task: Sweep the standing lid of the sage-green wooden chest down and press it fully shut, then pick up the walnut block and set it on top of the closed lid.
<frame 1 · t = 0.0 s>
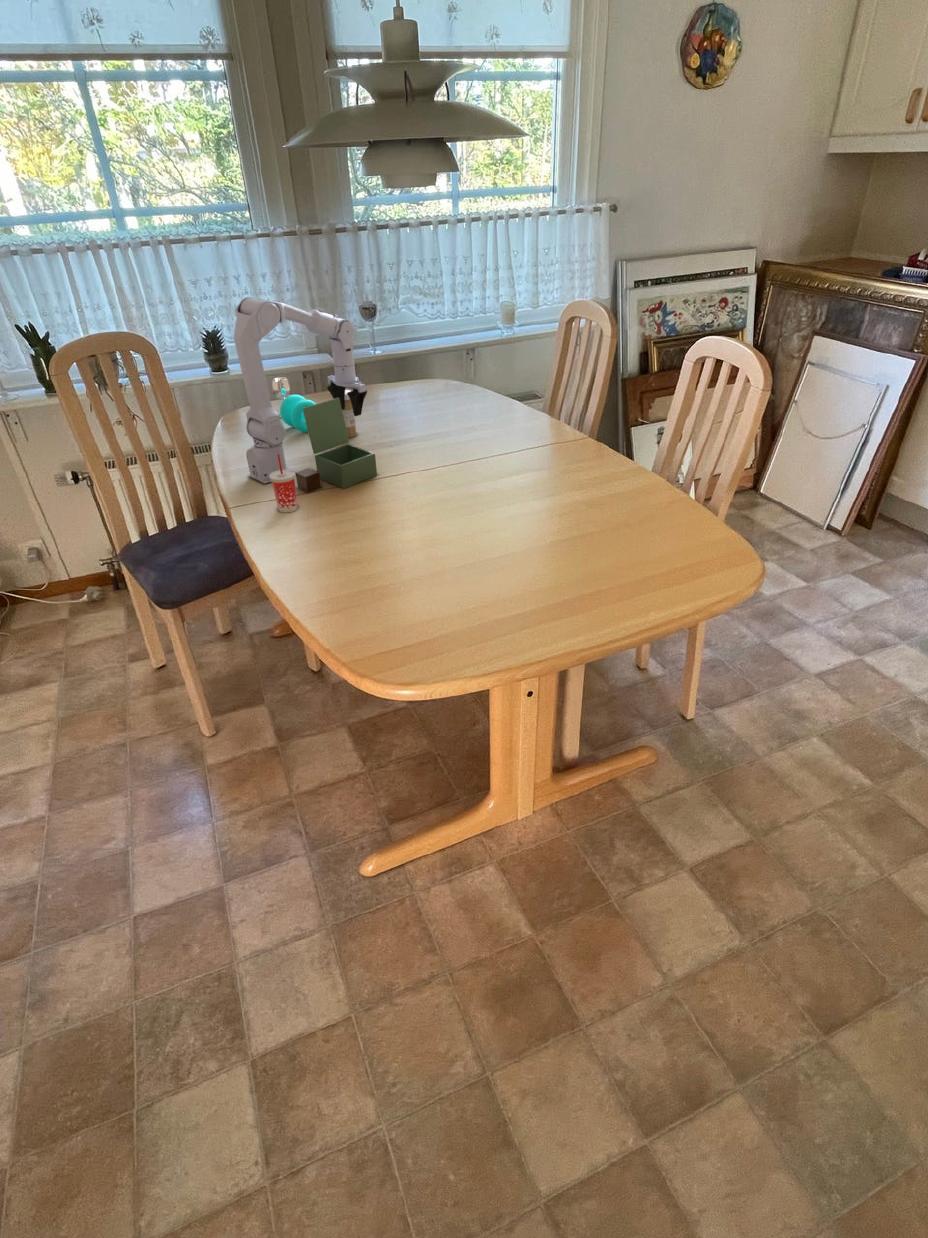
hand: (349, 412, 201), 10 cm above the table, tool pointing down, fingers open, 7 cm apart
donuts: (303, 429, 220), on the table
sprinkles bottle: (349, 435, 215), on the table
wineglass: (286, 416, 231), on the table
beverage cup: (288, 509, 173), on the table
chest: (347, 476, 189), on the table
lid: (326, 425, 185), point 13 cm above the table, hinge at 100.0°
block: (309, 487, 183), on the table
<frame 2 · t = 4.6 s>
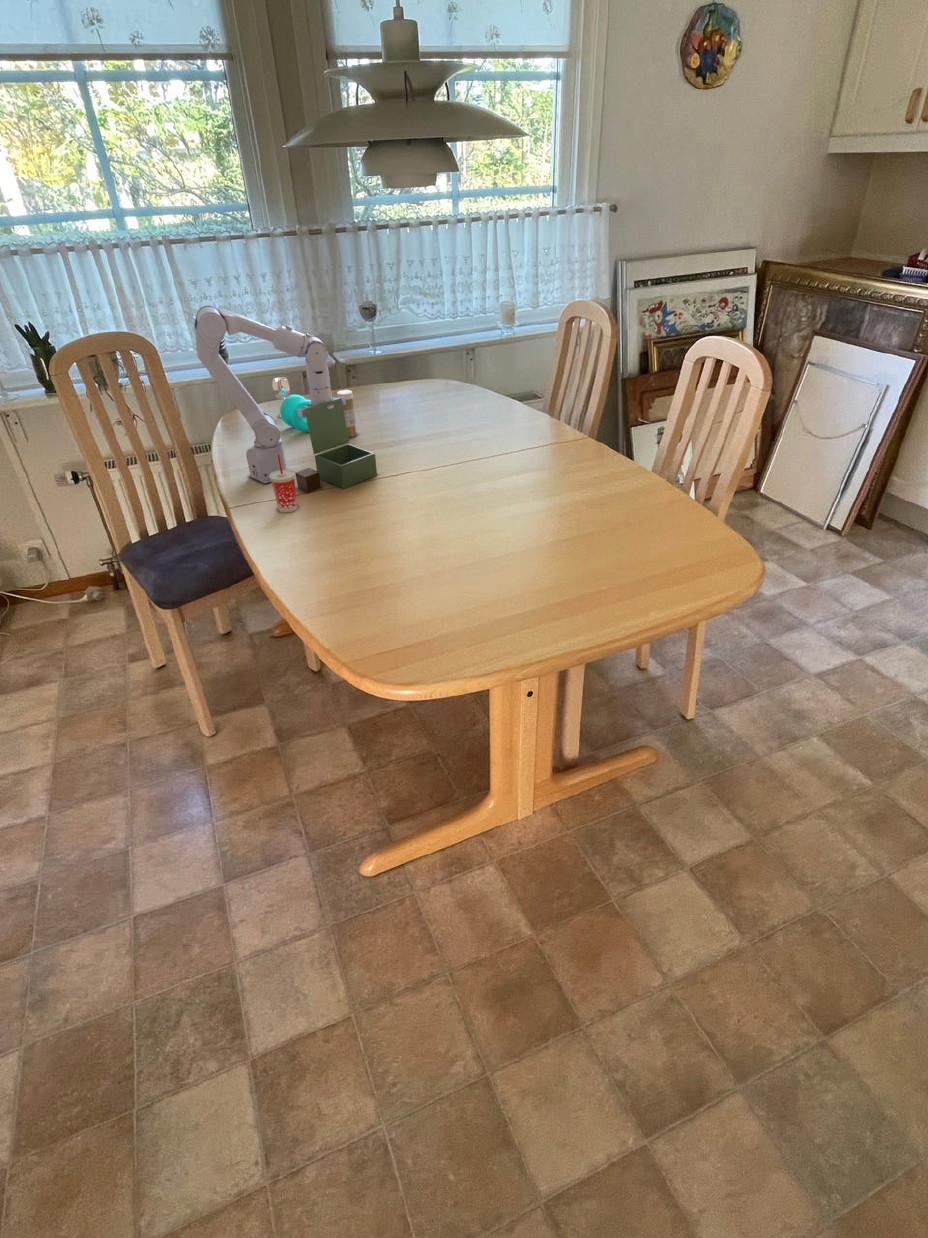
hand: (326, 436, 190), 8 cm above the table, tool pointing down, fingers closed, pressing on lid
lid: (327, 425, 185), point 13 cm above the table, hinge at 95.0°, touching gripper
everything else where it was.
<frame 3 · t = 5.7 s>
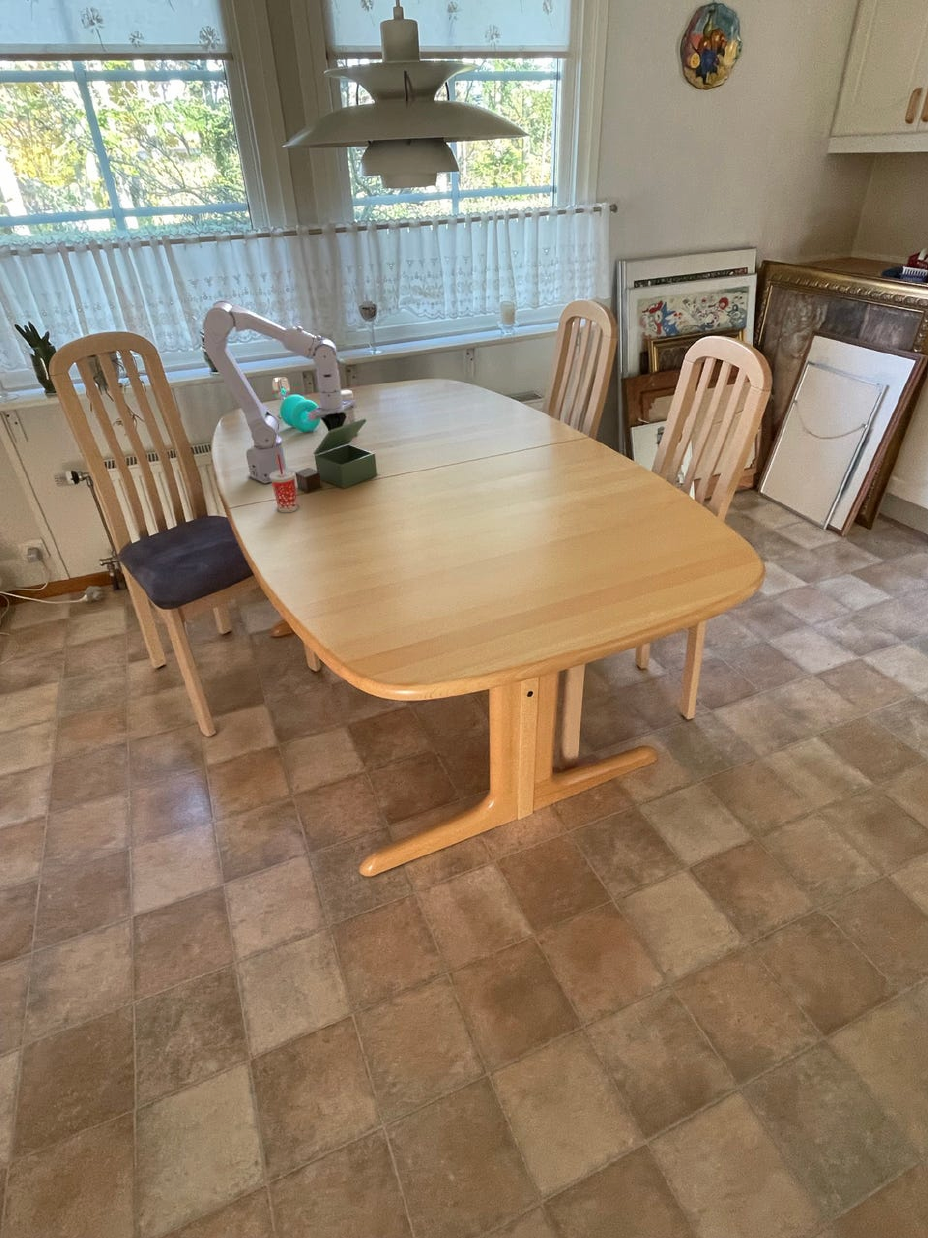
hand: (336, 440, 188), 8 cm above the table, tool pointing down, fingers closed
lid: (339, 436, 183), point 11 cm above the table, hinge at 43.1°, touching gripper
everything else where it was.
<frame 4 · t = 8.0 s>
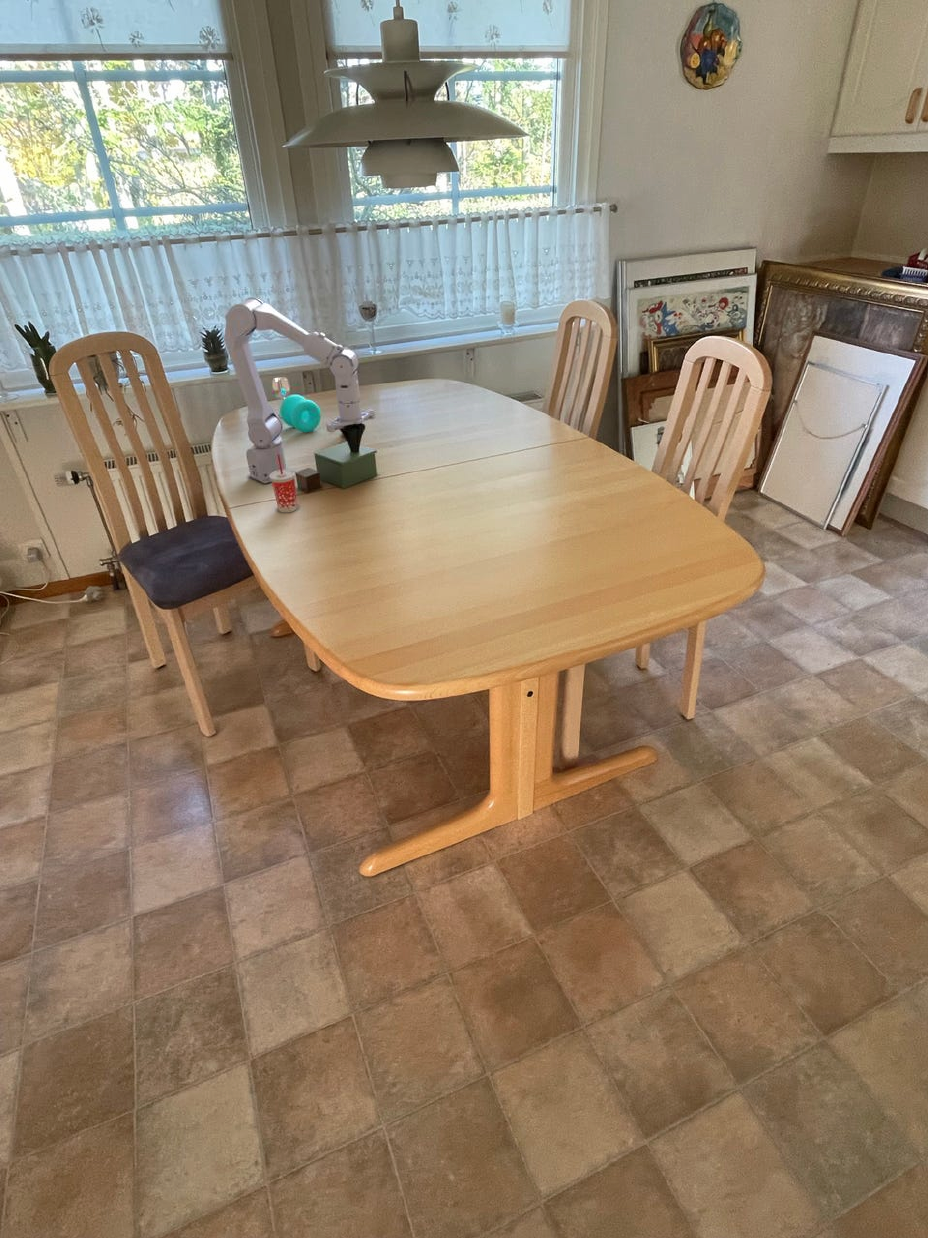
hand: (354, 451, 184), 7 cm above the table, tool pointing down, fingers closed, pressing on lid
lid: (345, 452, 185), point 7 cm above the table, hinge at 1.6°, touching gripper
everything else where it was.
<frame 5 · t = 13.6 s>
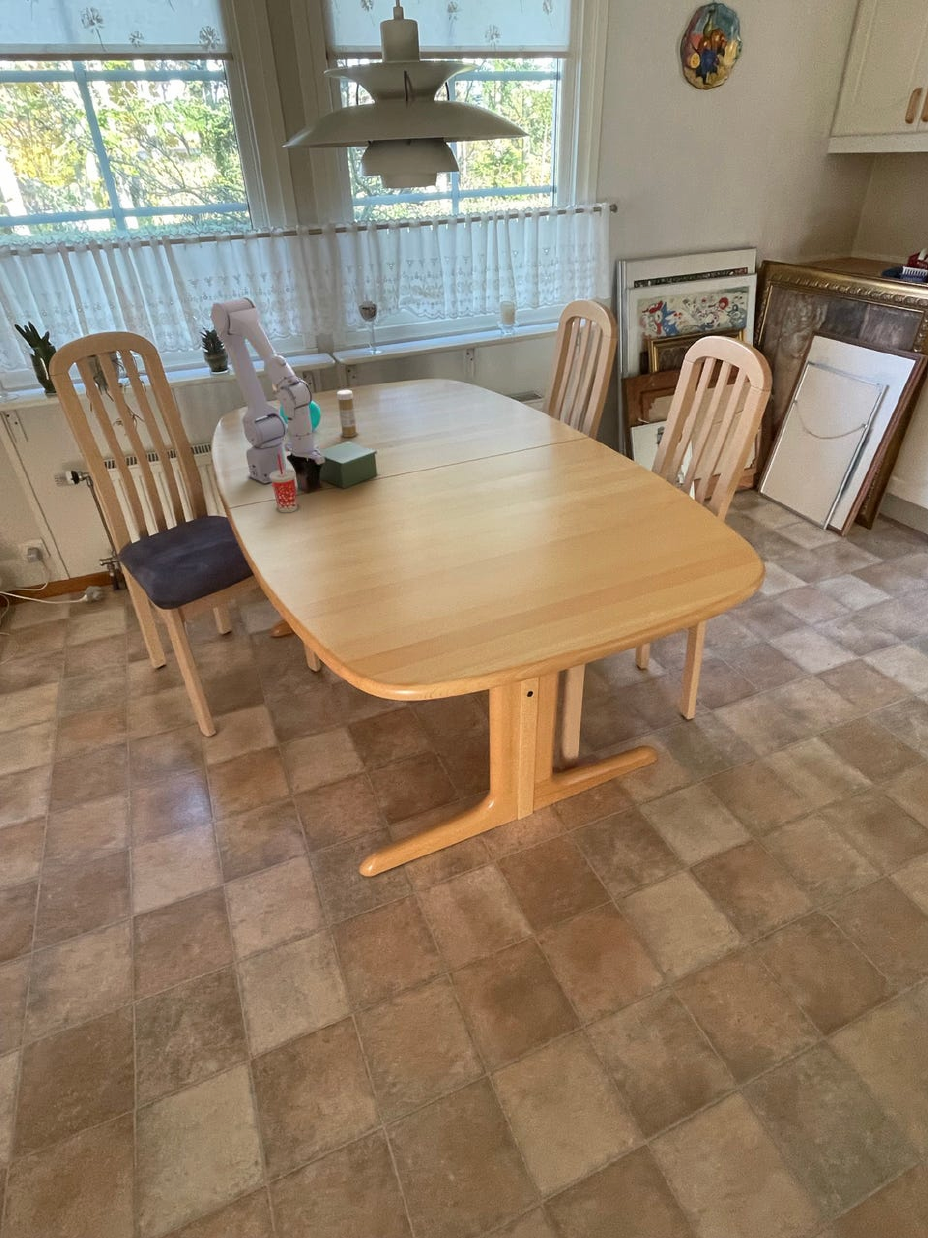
hand: (308, 482, 182), 1 cm above the table, tool pointing down, fingers closed on block, 4 cm apart
lid: (345, 453, 185), point 7 cm above the table, hinge at 0.6°
block: (309, 487, 183), on the table, touching gripper
everything else where it was.
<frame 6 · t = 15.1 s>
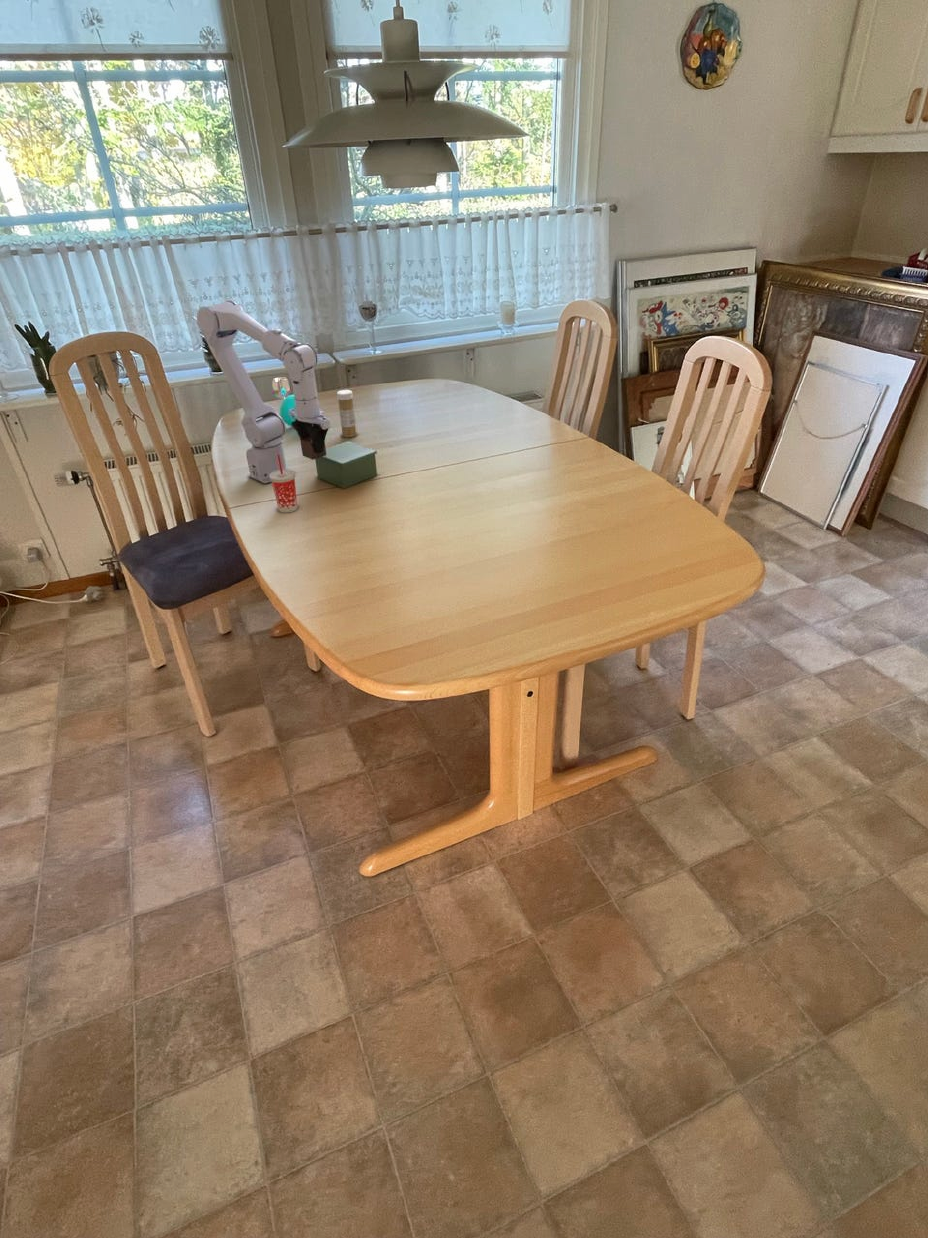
hand: (313, 450, 179), 10 cm above the table, tool pointing down, fingers closed on block, 4 cm apart
block: (314, 455, 180), point 8 cm above the table, touching gripper
everything else where it was.
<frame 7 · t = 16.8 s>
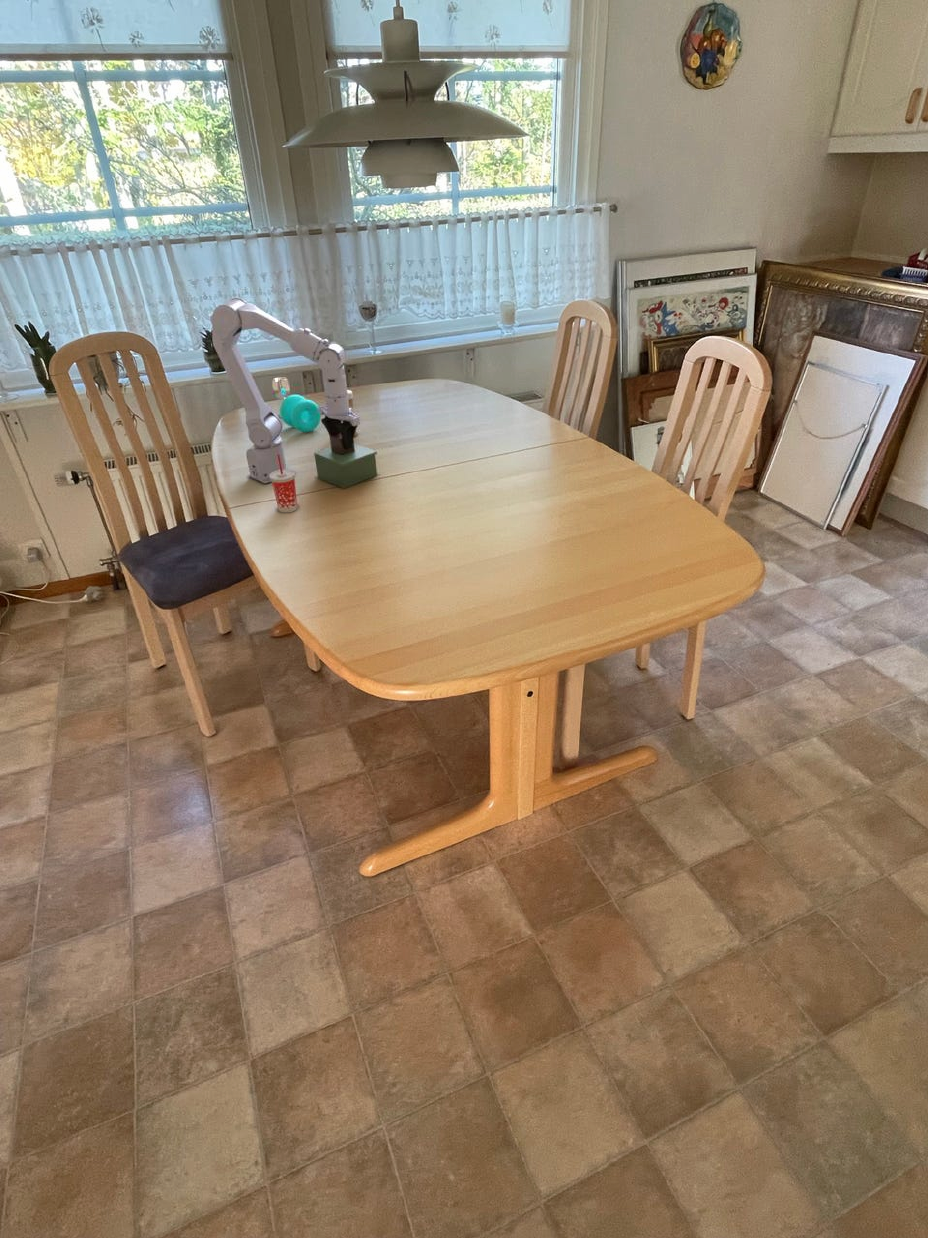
hand: (342, 446, 184), 8 cm above the table, tool pointing down, fingers closed on block, 4 cm apart
lid: (345, 453, 185), point 7 cm above the table, hinge at 0.0°, touching block
block: (343, 451, 185), point 7 cm above the table, touching gripper, lid
everything else where it was.
when the fingers open (8 cm above the table, at t = 16.9 s): block stays where it is, resting on lid.
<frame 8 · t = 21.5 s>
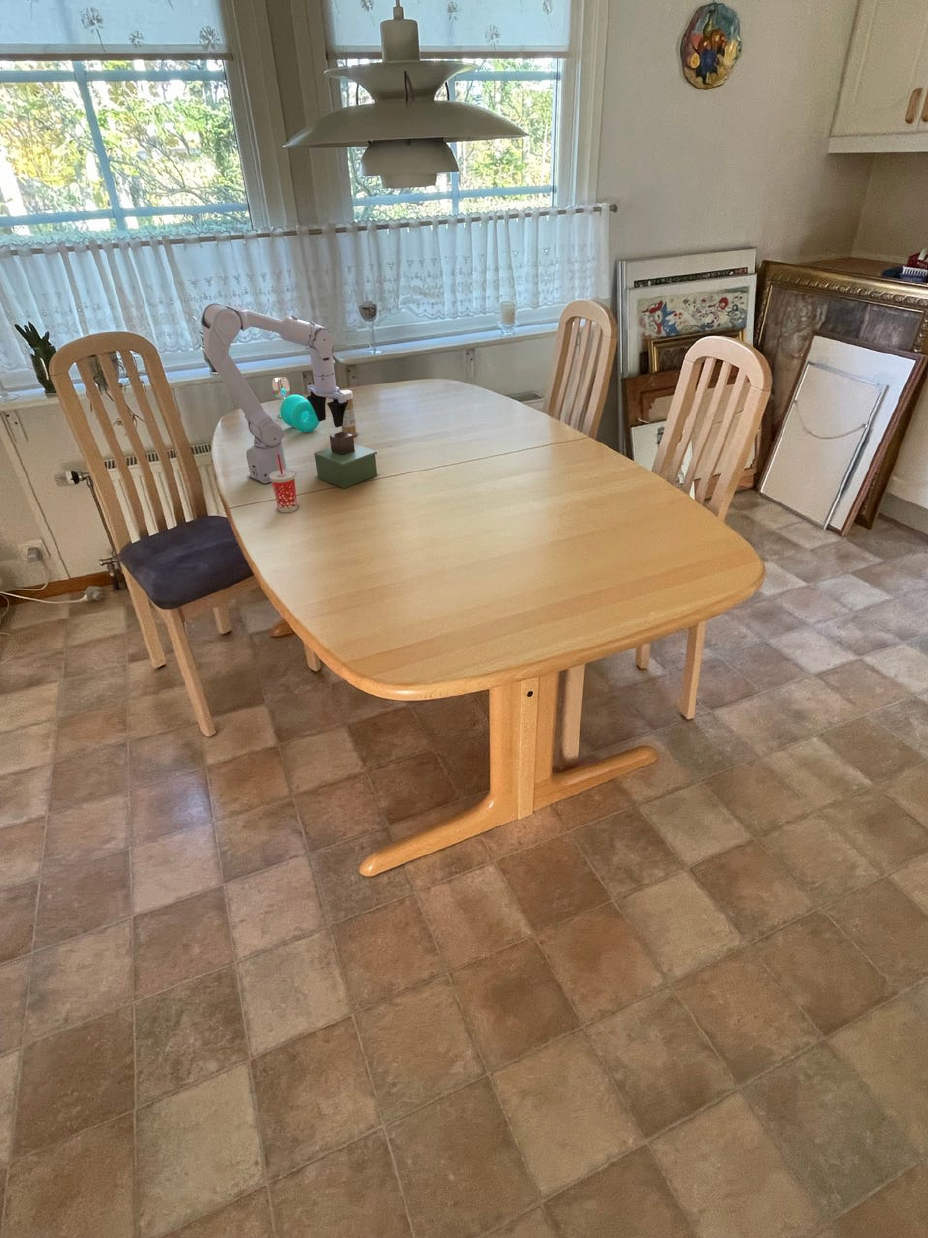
hand: (330, 423, 193), 10 cm above the table, tool pointing down, fingers open, 7 cm apart
block: (343, 451, 185), point 7 cm above the table, touching lid
everything else where it was.
at the end: lid at +0° (first picture: +100°); block inside the target area on the chest (0.5 cm from its centre), point 6.9 cm above the chest's base; block tilted 0° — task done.
